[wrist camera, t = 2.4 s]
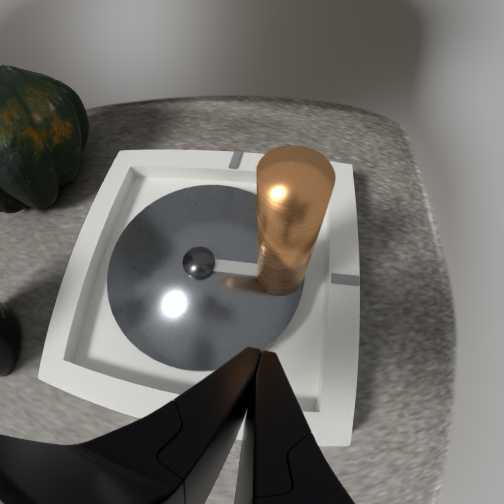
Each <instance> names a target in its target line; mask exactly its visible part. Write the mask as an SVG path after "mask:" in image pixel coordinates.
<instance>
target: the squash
mask: <svg viewBox="0 0 504 504" xmlns="http://www.w3.org/2000/svg"><path fill="white" fill-rule="evenodd" d="M88 128H89V124H88V117H87V113H86V110H85V108H84V105H83V103H82V101H81V99H80V98H79V96H78V95H77V94H76V92H75V91H74V90H72V89H71V88H70V87H69V86H67V85H66V84H64V83H62V82H61V81H58V80H55V79H53V78H51V77H49V76H46V75H43V74H40V73H36V72H31V71H27V70H23V69H19V68H16V67H12V66H4V65H1V66H0V212H5V213H15V212H18V211H20V210H22V209H24V208H25V207H26V206H29V207H32V208H36V209H44V208H47V207H50V206H51V205H52V204H53V203H54V202H55V200H56V198H57V195H58V192H59V185H65V184H67V183H69V182H71V181H72V180H73V179H74V178H75V176H76V175H77V172H78V170H79V168H80V163H81V154H82V150H83V149H84V147H85V144H86V142H87V138H88Z"/></svg>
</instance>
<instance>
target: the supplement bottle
mask: <svg viewBox="0 0 504 504" xmlns="http://www.w3.org/2000/svg"><path fill="white" fill-rule="evenodd" d="M19 350H20V328H19V324H18V320H17V318H16V316H15V314H14V312H13V311H12V310H11V308H10V307H9V306H7V305H6V304H4V303H2V302H0V377H1V376H4V375H6V374H7V373H8V372H9V371H10V370H11V369H12V368H13V366H14V365H15V363H16V360H17V358H18V354H19Z"/></svg>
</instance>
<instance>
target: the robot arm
mask: <svg viewBox="0 0 504 504" xmlns="http://www.w3.org/2000/svg"><path fill="white" fill-rule="evenodd" d="M246 412H247V413H246ZM245 415H246V417H245ZM244 418H245V422H244V429H243V437H242V446H241V454H240V461H239V469H238V477H237V485H236V493H235V500H234V504H355V503H354V501H353V500H352V499H351V497H350V496H349V494H348V493H347V491H346V490H345V489H344V487H343V486H342V484H341V483H340V481H339V480H338V478H337V477H336V475H335V474H334V472H333V471H332V469H331V467H330V466H329V464H328V463H327V461H326V459H325V458H324V456H323V454H322V452H321V450H320V448H319V446H318V444H317V442H316V440H315V437H314V435H313V433H311V429H310V427H309V425H308V422H307V420H306V418H305V416H304V414H303V411H302V409H301V407H300V405H299V403H298V400H297V398H296V396H295V394H294V392H293V389H292V387H291V385H290V383H289V380H288V378H287V376H286V374H285V371H284V369H283V367H282V365H281V362H280V360H279V358H278V356H277V354H276V353H275V352H271V351H266V350H263V351H262V352H261V350H260V349H257V348H253V347H246V348H245V349H244V350H242V351H241V352H240V353H238V354H237V355H236V356H234V357H233V358H232V359H230V360H229V361H228V362H226V363H225V364H223V365H222V366H221V367H219V368H218V369H216V370H215V371H214V372H212V373H211V374H209V375H208V376H207V377H205V378H204V379H202V380H201V381H199V382H198V383H197V384H195V385H194V386H192V387H191V388H189V389H188V390H186V391H185V392H183V393H182V394H180V395H179V396H177V397H176V398H174V401H173V400H171V401H170V402H168V403H167V404H165V405H164V406H162V407H160V408H159V409H157V410H155V411H154V412H152V413H150V414H149V415H147V416H145V417H143V418H141V419H139V420H137V421H135V422H133V423H130V424H128V425H126V426H124V427H121V428H119V429H117V430H114V431H112V432H110V433H107V434H105V435H102V436H100V437H97V438H95V439H92V440H90V441H87V442H83V443H79V444H73V445H59V444H51V443H44V442H37V441H31V440H25V439H19V438H14V437H9V436H5V435H0V504H205V502H206V500H207V498H208V496H209V494H210V492H211V490H212V488H213V486H214V484H215V482H216V480H217V478H218V476H219V473H220V471H221V469H222V467H223V465H224V463H225V461H226V459H227V457H228V454H229V452H230V450H231V448H232V446H233V444H234V441H235V439H236V437H237V435H238V432H239V430H240V428H241V426H242V423H243V421H244Z"/></svg>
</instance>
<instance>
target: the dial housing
mask: <svg viewBox="0 0 504 504" xmlns="http://www.w3.org/2000/svg"><path fill="white" fill-rule="evenodd" d="M264 155H265V154H257V153H244V152H240V151H234V152H227V151H205V150H121V151H119V153H118V155H117V156H116V158H115V160H114V162H113V164H112V166H111V168H110V170H109V171H108V173H107V175H106V177H105V179H104V181H103V183H102V185H101V187H100V189H99V192H98V194H97V196H96V198H95V200H94V202H93V204H92V207H91V209H90V211H89V213H88V215H87V218H86V220H85V222H84V225H83V227H82V230H81V232H80V234H79V237H78V239H77V242H76V244H75V247H74V250H73V252H72V255H71V258H70V260H69V263H68V266H67V269H66V272H65V275H64V277H63V280H62V283H61V287H60V290H59V293H58V296H57V299H56V303H55V306H54V310H53V313H52V317H51V321H50V324H49V328H48V332H47V336H46V340H45V345H44V349H43V354H42V359H41V364H40V369H39V374H38V379H40V380H42V381H44V382H46V383H48V384H50V385H52V386H55V387H57V388H59V389H61V390H63V391H66V392H68V393H70V394H73V395H75V396H78V397H80V398H82V399H85V400H88V401H90V402H93V403H95V404H98V405H101V406H104V407H106V408H109V409H112V410H115V411H118V412H121V413H124V414H127V415H130V416H134V417H137V418H140V419H141V418H143V417H145V416H147V415H149V414H150V413H152V412H154V411H155V410H157V409H159V408H160V407H162V406H164V405H165V404H167V403H168V402H170V401H171V400H173V401H174V398H176V397H177V396H179V395H180V394H182V393H183V392H185V391H186V390H188V389H189V388H191V387H192V386H194V385H195V384H197V383H198V382H199V381H201V380H202V379H204V378H205V377H207V376H208V375H209V374H211V373H212V372H214V371H212V372H194V371H186V370H181V369H177V368H174V367H170V366H168V365H165V364H163V363H160V362H158V361H156V360H154V359H152V358H150V357H149V356H147V355H146V354H144V353H143V352H141V351H140V350H139V349H138V348H136V347H135V346H134V345H133V344H132V343H131V342H130V341H129V340H128V339H127V337H126V336H125V335H124V334H123V332H122V331H121V329H120V328H119V326H118V324H117V323H116V320H115V318H114V316H113V314H112V311H111V308H110V304H109V300H108V293H107V273H108V266H109V262H110V258H111V255H112V252H113V249H114V247H115V245H116V242H117V241H118V239H119V237H120V235H121V234H122V232H123V231H124V229H125V228H126V227H127V225H128V224H129V223H130V222H131V221H132V219H133V218H134V217H135V216H136V215H137V214H138V213H140V212H141V211H142V210H143V209H144V208H145V207H147V206H148V205H150V204H151V203H152V202H154V201H156V200H157V199H159V198H161V197H163V196H165V195H167V194H169V193H172V192H174V191H177V190H180V189H184V188H188V187H193V186H199V185H224V186H231V187H236V188H240V189H243V190H246V191H249V192H251V193H254V194H255V195H257V182H256V170H257V165H258V163H259V161H260V159H261V158H262V157H263V156H264ZM329 162H330V163H331V165H332V166H333V169H334V171H335V176H336V181H335V185H334V188H333V192H332V195H331V198H330V201H329V204H328V207H327V211H326V214H325V217H324V220H323V223H322V226H321V229H320V232H319V235H318V238H317V241H316V244H315V247H314V250H313V253H312V256H311V258H310V261H309V264H308V267H307V270H306V273H305V280H304V287H303V292H302V295H301V299H300V302H299V305H298V307H297V309H296V312H295V314H294V316H293V318H292V320H291V322H290V323H289V325H288V326H287V328H286V330H285V331H284V332H283V333H282V335H281V336H280V337H279V338H278V339H277V340H276V342H274V343H273V344H272V345H271V346H270V347H269V348H268V349H266V351H271V352H275V353H276V354H277V356H278V358H279V360H280V362H281V365H282V367H283V369H284V371H285V374H286V376H287V378H288V380H289V383H290V385H291V387H292V389H293V392H294V394H295V396H296V398H297V400H298V403H299V405H300V407H301V409H302V411H303V414H304V416H305V418H306V420H307V422H308V425H309V427H310V429H311V433H313V435H314V437H315V440H316V442H317V444H318V446H350V442H351V434H352V427H353V418H354V409H355V398H356V387H357V373H358V356H359V331H360V268H359V243H358V225H357V211H356V199H355V189H354V179H353V170H352V165H351V164H345V163H338V162H331V161H329ZM246 413H247V412H246ZM245 417H246V415H245ZM244 422H245V418H244V421H243V423H242V426H241V428H240V430H239V432H238V435H237V437H236V439H238V440H242V437H243V429H244Z"/></svg>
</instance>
